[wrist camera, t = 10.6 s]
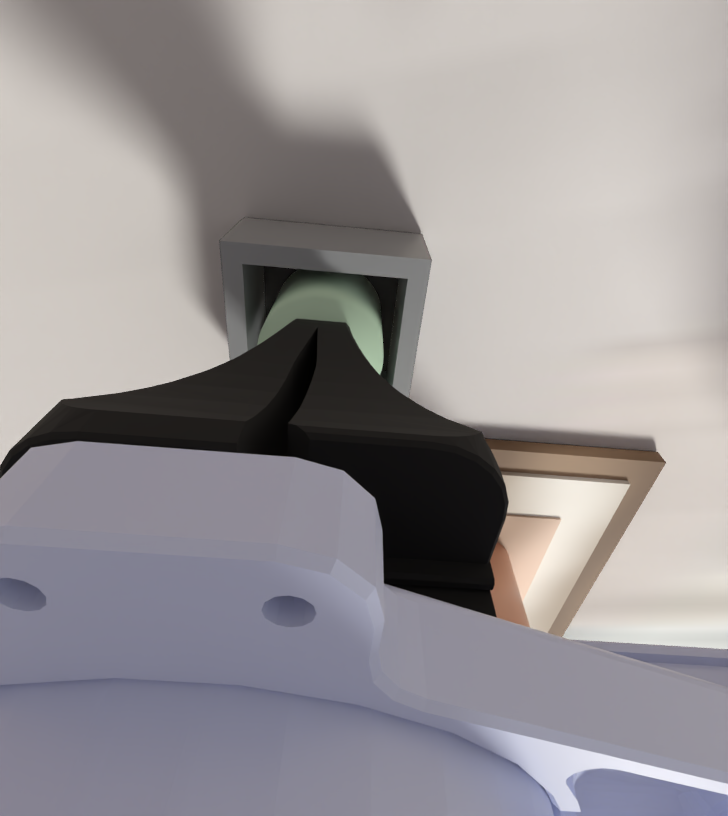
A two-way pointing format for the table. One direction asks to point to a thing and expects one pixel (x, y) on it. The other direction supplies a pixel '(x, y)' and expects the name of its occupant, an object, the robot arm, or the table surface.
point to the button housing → (332, 253)
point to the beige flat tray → (566, 519)
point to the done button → (331, 308)
